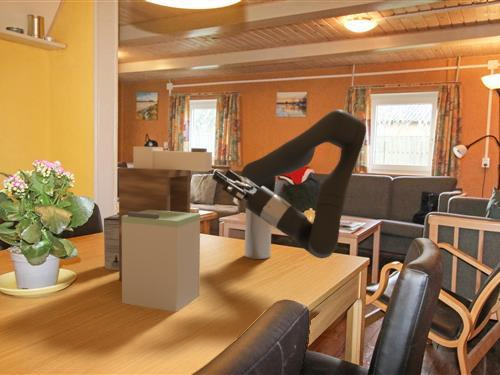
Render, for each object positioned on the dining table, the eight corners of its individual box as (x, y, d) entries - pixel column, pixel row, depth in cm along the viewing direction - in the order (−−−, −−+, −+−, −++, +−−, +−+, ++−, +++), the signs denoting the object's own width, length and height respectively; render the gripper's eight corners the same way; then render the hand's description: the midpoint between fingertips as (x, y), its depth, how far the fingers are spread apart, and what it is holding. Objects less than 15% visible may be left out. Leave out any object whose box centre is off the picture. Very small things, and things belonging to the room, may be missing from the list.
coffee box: (118, 261, 143) (118, 213, 141) (136, 263, 142) (136, 214, 140) (103, 269, 134) (103, 217, 132) (122, 270, 133) (122, 219, 131)
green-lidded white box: (149, 288, 117) (149, 205, 115) (199, 295, 112) (200, 209, 110) (122, 302, 106) (121, 211, 104) (176, 312, 101) (177, 216, 99)
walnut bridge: (146, 268, 136) (146, 166, 133) (189, 274, 131) (190, 168, 128) (119, 281, 123) (118, 168, 120) (165, 287, 118) (166, 170, 115)
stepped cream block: (145, 167, 128) (145, 146, 128) (213, 170, 121) (213, 148, 120) (133, 167, 123) (133, 146, 122) (203, 171, 115) (204, 148, 115)
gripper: (283, 192, 119) (236, 161, 123) (268, 198, 106) (216, 162, 109) (269, 214, 121) (224, 183, 125) (253, 222, 108) (202, 187, 111)
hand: (220, 173), depth 117 cm, fingers open, 8 cm apart
